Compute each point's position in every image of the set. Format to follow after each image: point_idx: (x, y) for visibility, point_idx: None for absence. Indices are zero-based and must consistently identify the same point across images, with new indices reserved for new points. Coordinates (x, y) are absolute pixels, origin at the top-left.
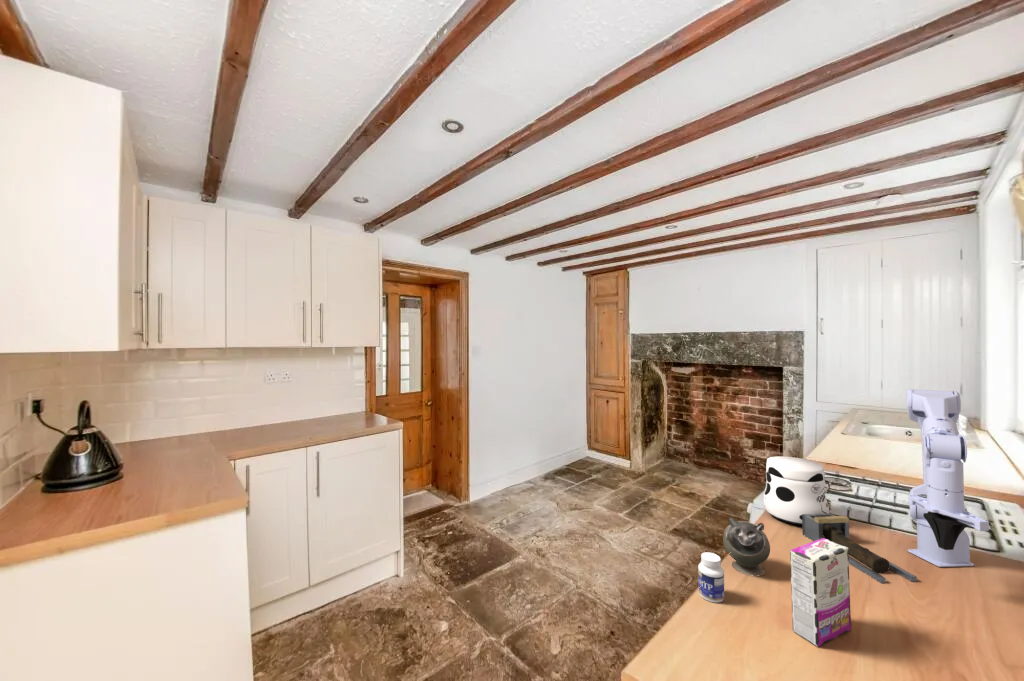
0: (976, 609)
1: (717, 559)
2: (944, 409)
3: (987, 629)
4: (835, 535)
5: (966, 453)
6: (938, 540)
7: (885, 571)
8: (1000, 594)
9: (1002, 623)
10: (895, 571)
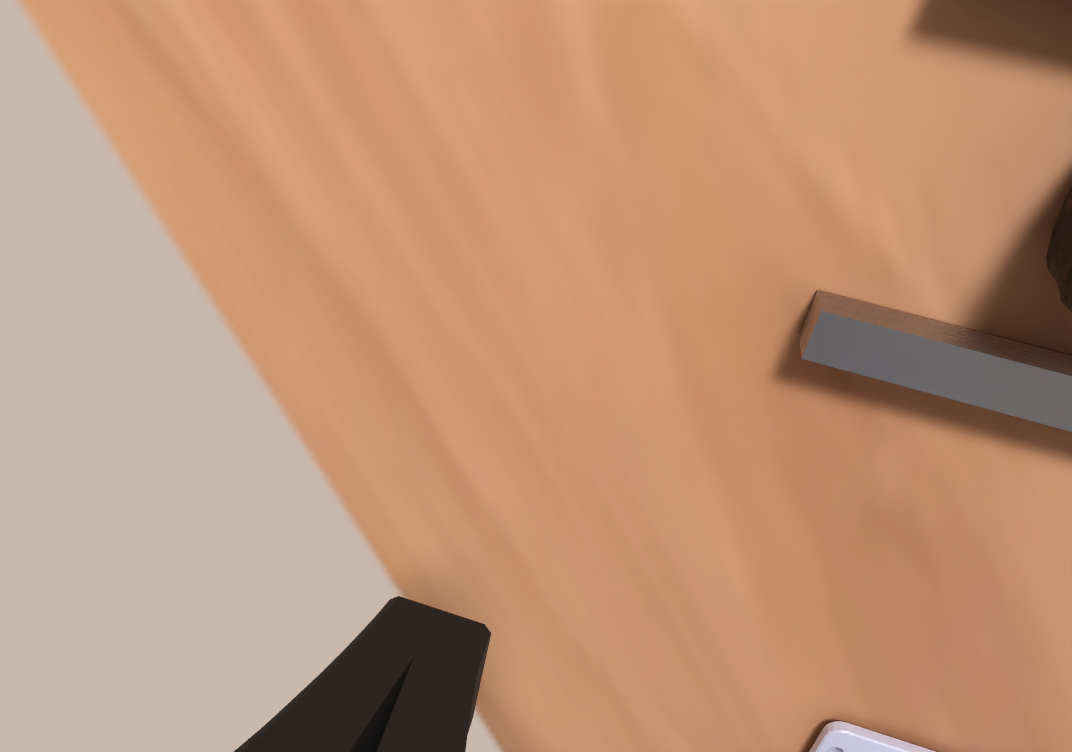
0: (394, 310)
1: None
2: None
3: (192, 69)
4: None
5: None
6: (412, 702)
7: (1058, 221)
8: None
9: (248, 273)
10: (996, 340)
